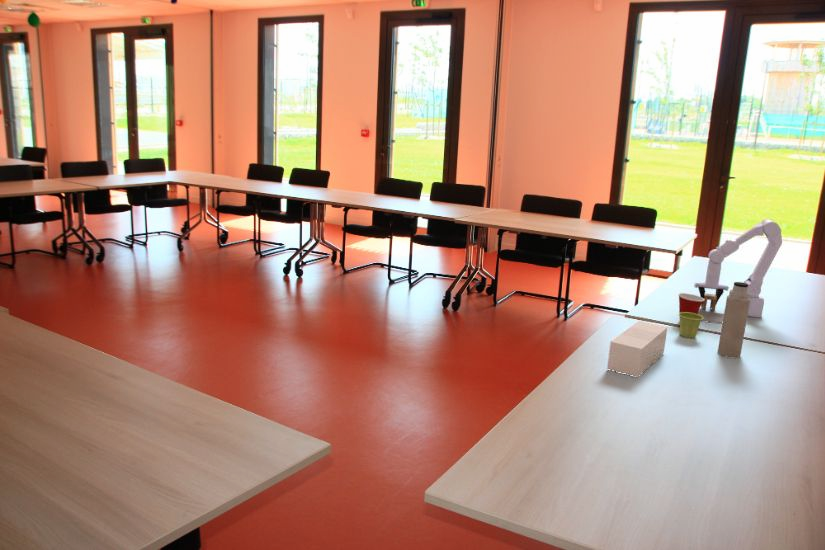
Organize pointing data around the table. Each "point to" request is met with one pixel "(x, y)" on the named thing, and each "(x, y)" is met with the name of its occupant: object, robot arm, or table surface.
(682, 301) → the plastic cup
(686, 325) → the plant pot
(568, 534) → the table surface
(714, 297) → the stool
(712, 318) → the mat
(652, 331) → the beige rectangular block
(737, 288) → the thermos bottle
